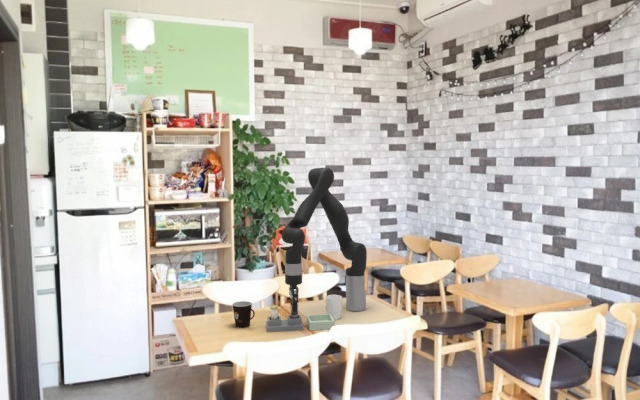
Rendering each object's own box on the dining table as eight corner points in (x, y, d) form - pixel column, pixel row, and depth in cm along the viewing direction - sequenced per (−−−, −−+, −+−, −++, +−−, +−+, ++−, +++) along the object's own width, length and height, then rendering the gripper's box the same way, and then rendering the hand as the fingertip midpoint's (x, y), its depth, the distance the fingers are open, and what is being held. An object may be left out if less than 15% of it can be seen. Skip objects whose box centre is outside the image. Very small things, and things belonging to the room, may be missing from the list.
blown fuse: (298, 321, 234) (297, 303, 234) (298, 323, 231) (298, 305, 230) (290, 321, 234) (290, 304, 233) (291, 324, 231) (290, 306, 230)
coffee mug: (231, 324, 238) (230, 302, 237) (249, 321, 241) (248, 300, 240) (237, 331, 227) (236, 309, 226) (256, 329, 231) (256, 306, 230)
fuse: (277, 322, 233) (277, 304, 232) (278, 324, 230) (278, 307, 229) (270, 322, 233) (269, 305, 232) (270, 325, 229) (270, 307, 229)
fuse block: (301, 323, 238) (301, 313, 237) (303, 329, 229) (303, 319, 228) (266, 325, 235) (265, 315, 235) (267, 332, 226) (266, 321, 226)
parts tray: (330, 321, 240) (330, 313, 240) (334, 328, 229) (334, 321, 229) (306, 322, 239) (306, 315, 238) (309, 330, 228) (309, 322, 227)
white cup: (345, 317, 246) (345, 296, 245) (334, 321, 240) (334, 300, 239) (333, 314, 251) (332, 293, 250) (322, 318, 245) (321, 297, 244)
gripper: (303, 276, 224) (304, 313, 226) (300, 269, 238) (300, 304, 240) (286, 276, 223) (286, 314, 224) (283, 269, 237) (284, 305, 238)
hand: (293, 309), depth 232 cm, fingers open, 8 cm apart
